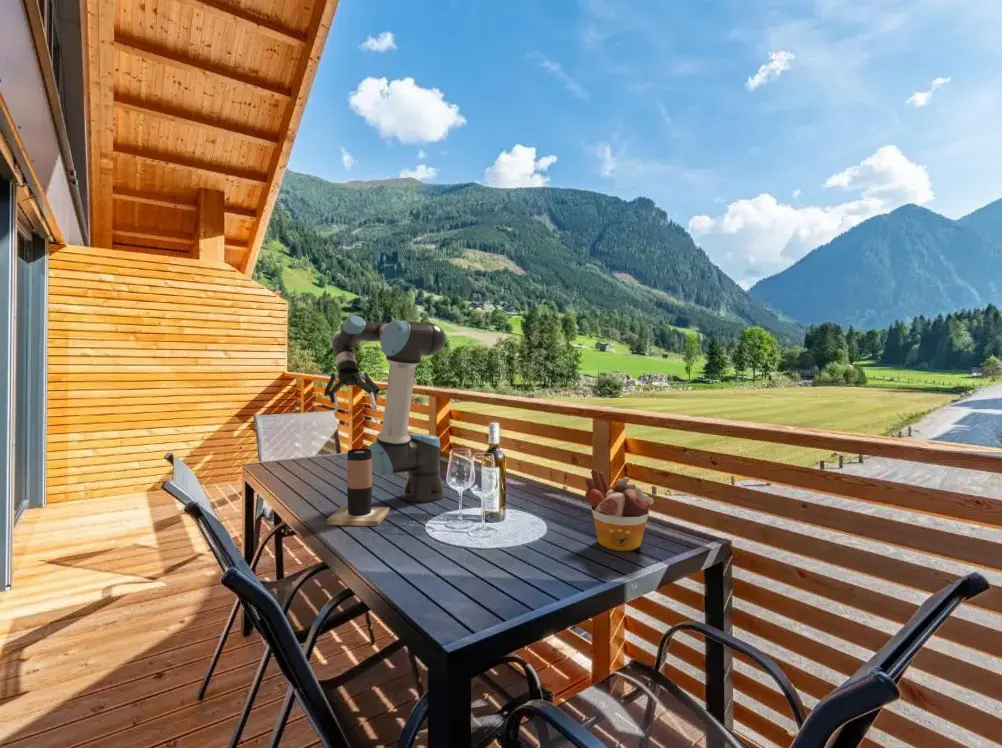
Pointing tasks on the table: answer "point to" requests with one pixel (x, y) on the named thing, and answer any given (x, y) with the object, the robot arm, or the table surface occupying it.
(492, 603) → the table surface
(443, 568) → the table surface
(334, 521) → the coaster board
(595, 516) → the bucket of meat
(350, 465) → the travel mug
